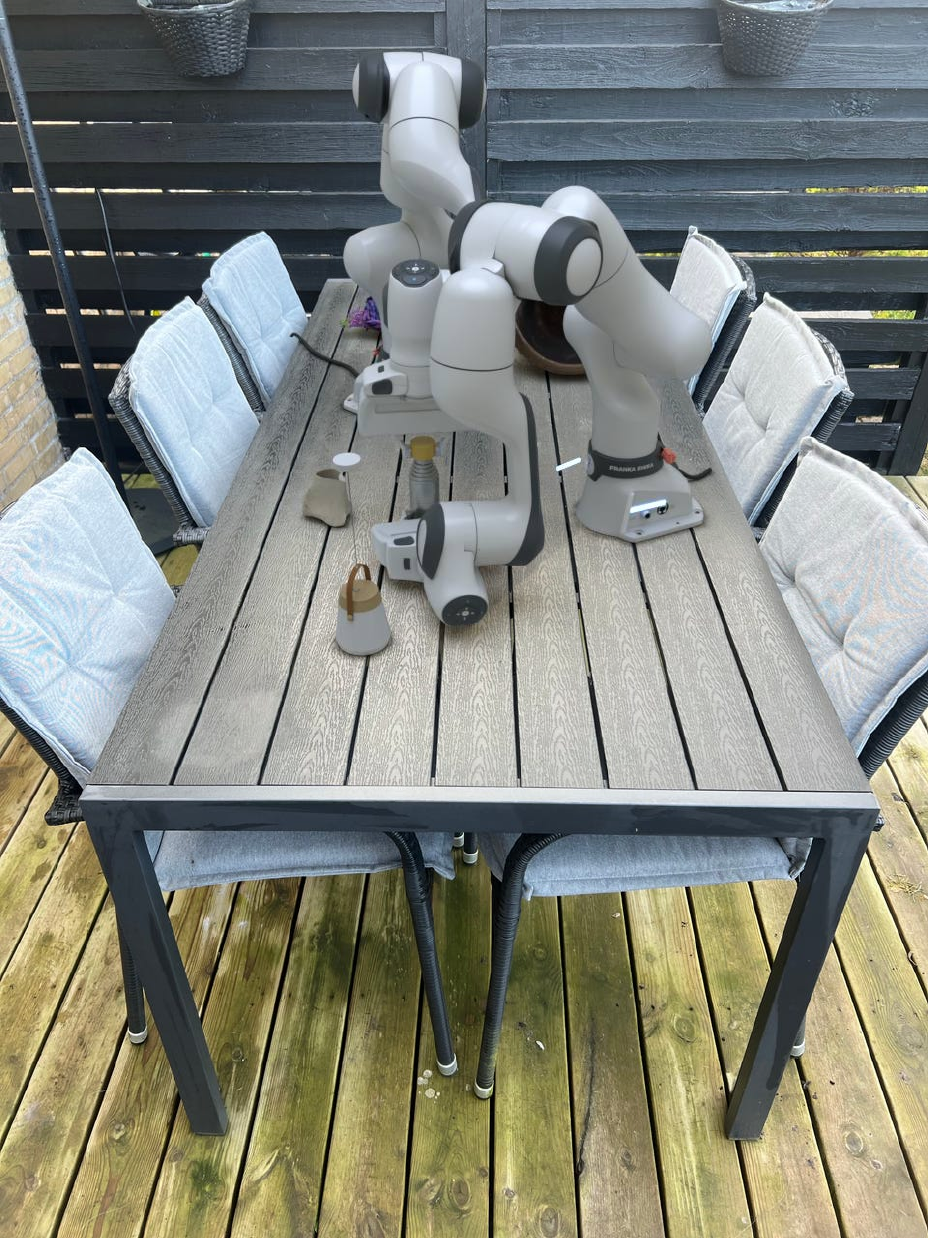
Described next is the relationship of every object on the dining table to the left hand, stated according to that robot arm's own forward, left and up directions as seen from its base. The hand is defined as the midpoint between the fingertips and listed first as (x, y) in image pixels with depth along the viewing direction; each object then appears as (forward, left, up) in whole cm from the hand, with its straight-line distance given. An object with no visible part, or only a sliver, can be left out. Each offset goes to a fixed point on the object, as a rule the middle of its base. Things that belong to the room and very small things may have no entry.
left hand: (422, 455), depth 151 cm
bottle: (0, 0, -17) cm, 17 cm away
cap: (0, 0, +2) cm, 2 cm away
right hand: (-1, +1, -11) cm, 11 cm away
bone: (-20, -2, -17) cm, 26 cm away
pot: (-14, +87, -17) cm, 90 cm away
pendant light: (+6, -28, -17) cm, 33 cm away
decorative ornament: (-59, +80, -17) cm, 101 cm away
